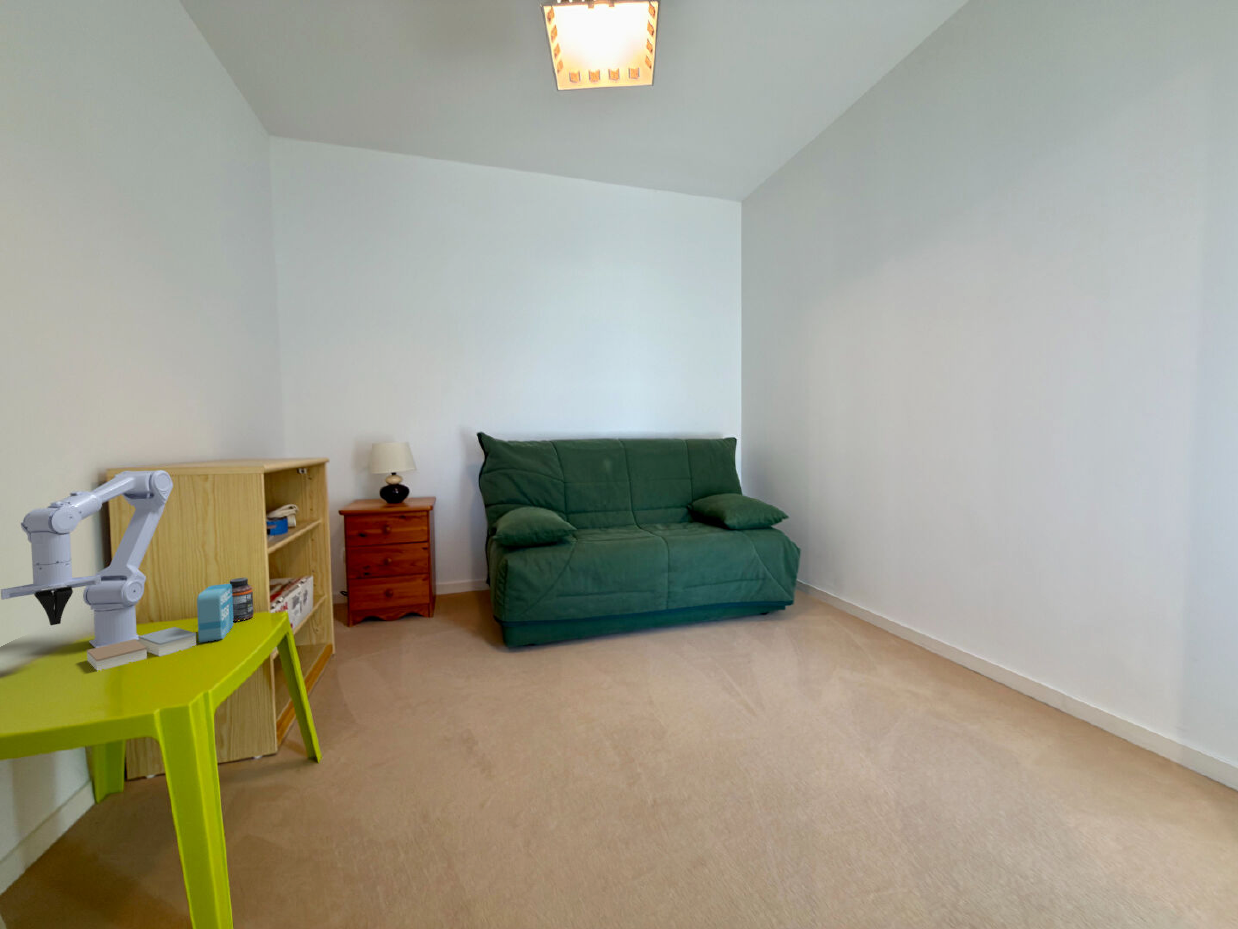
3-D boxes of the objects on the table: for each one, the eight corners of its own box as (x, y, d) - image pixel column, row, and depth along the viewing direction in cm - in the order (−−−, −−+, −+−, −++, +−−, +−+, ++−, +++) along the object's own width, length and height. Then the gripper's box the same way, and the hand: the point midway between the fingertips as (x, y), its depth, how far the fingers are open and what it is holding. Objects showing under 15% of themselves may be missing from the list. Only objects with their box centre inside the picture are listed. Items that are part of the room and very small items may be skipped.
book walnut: (87, 663, 114) (86, 650, 114) (135, 651, 120) (135, 638, 120) (97, 673, 108) (96, 659, 108) (147, 660, 115) (146, 647, 115)
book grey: (139, 650, 121) (138, 636, 121) (175, 640, 127) (174, 627, 127) (160, 658, 116) (159, 643, 116) (196, 647, 122) (196, 633, 122)
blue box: (221, 641, 125) (219, 593, 124) (198, 644, 123) (196, 595, 122) (233, 626, 135) (232, 582, 135) (212, 629, 134) (211, 584, 133)
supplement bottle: (230, 617, 143) (229, 578, 143) (256, 614, 146) (254, 575, 145) (224, 624, 138) (222, 582, 137) (250, 620, 140) (248, 580, 140)
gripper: (2, 571, 103) (5, 637, 103) (102, 558, 114) (105, 617, 115) (-2, 567, 107) (1, 631, 107) (96, 555, 119) (98, 612, 119)
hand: (55, 623), depth 111 cm, fingers closed
